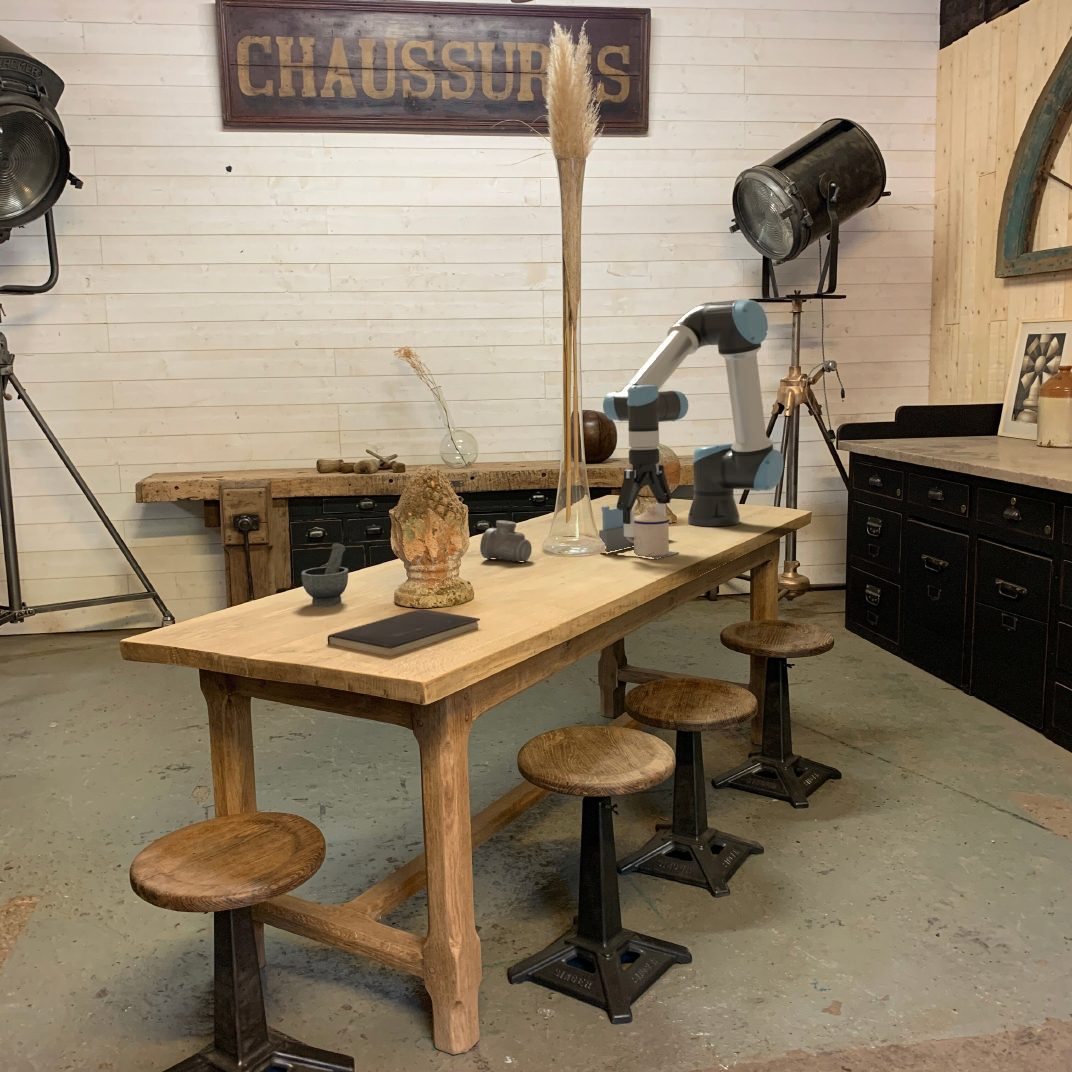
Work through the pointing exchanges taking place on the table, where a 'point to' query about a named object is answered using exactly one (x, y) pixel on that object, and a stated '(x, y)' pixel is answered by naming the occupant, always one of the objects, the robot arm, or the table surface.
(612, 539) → the bay rack
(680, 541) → the table surface
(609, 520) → the blue bezel
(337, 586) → the mortar and pestle
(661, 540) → the teacup with lid
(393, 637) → the hardcover book
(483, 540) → the pipe fitting
